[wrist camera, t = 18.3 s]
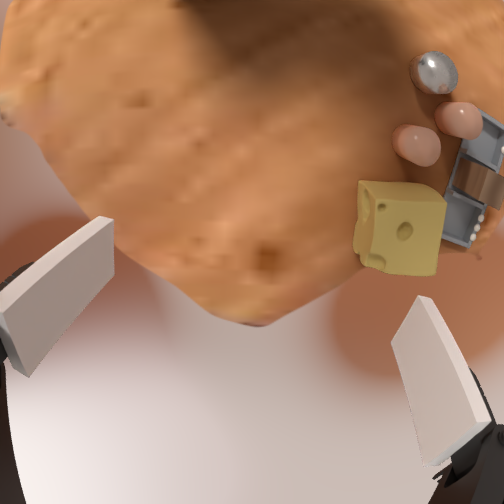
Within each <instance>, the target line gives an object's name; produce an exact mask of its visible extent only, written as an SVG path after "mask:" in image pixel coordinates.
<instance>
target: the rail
mask: <svg viewBox="0 0 504 504" xmlns="http://www.w3.org/2000/svg"><path fill="white" fill-rule="evenodd" d="M477 109H478V110H479V111H480V113H481V116H482V119H483V128H482V132H481V134H480V135H479V136H478V137H477V138H476V139H474V140H467V139H463V138H462V141H461V145H460V148H459V151H458V155H457V158H456V161H455V164H454V168H453V171H452V174H451V177H450V180H449V183H448V185H447V188H446V191H445V194H444V197H443V199H444V200H445V201H446V202H447V209H446V214H445V220H444V225H443V231H442V237H441V238H443V239H445V240H448V241H451V242H453V243H456V244H459V245H461V246H464V247H466V248H470V246H471V244H472V241H474V240H475V239H476V232H477V231H479V230H480V223H481V222H482V221H483V220H484V213H485V210H486V208H487V204H485V203H483V202H481V201H479V200H477V199H475V198H474V197H472V196H471V195H469V194H467V193H466V192H464V191H462V190H461V189H459V188H457V187H455V186H454V185H452V182H453V179H454V176H455V172H456V169H457V166H458V162H459V159H460V157H461V158H464V159H466V160H469V161H472V162H474V163H477V164H479V165H481V166H484V167H486V168H489V169H490V170H492V171H494V172H496V173H497V174H498V173H499V170H500V167H501V163H502V160H503V157H504V125H503V124H501V123H500V122H498V121H497V120H495V119H494V118H493V117H491V116H489V115H488V114H486V113H485V112H483V111H482V110H480V109H479V108H477Z"/></svg>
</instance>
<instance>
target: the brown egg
mask: <svg viewBox="0 0 504 504" xmlns="http://www.w3.org/2000/svg"><path fill="white" fill-rule="evenodd" d="M392 146H393V149H394V151H395V152H396V153H397V154H398V155H399V156H400V157H402V158H405V159H407V160H409V161H411V162H413V163H415V164H417V165H419V166H423V167H427V166H430V165H432V164H434V163H435V162H436V161H437V160H438V158H439V156H440V152H441V143H440V140H439V138H438V136H437V134H436V133H435V132H434V131H432V130H431V129H429V128H426V127H420V126H415V125H409V124H404V125H401V126H399V127H397V128H396V129H395V131H394V132H393V135H392Z"/></svg>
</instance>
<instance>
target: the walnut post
mask: <svg viewBox="0 0 504 504" xmlns="http://www.w3.org/2000/svg"><path fill="white" fill-rule="evenodd" d="M452 185H454V186H455V187H457V188H459V189H461V190H462V191H464V192H466V193H467V194H469V195H471V196H472V197H474V198H475V199H477V200H479V201H481V202H483V203H485V204H487V205H489V206H491V207H493V208H495V209H497V210H500V207H501V204H502V201H503V199H504V177H503V176H501V175H499V174H497V173H496V172H494V171H492V170H490V169H489V168H486V167H484V166H481V165H479V164H477V163H474V162H472V161H469V160H466V159H464V158H461V157H460V159H459V162H458V166H457V169H456V172H455V176H454V179H453V182H452Z"/></svg>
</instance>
